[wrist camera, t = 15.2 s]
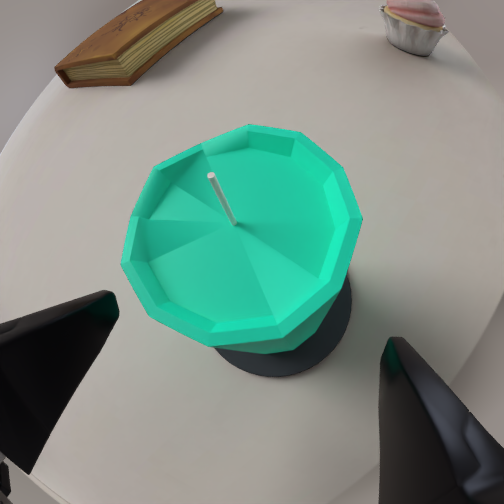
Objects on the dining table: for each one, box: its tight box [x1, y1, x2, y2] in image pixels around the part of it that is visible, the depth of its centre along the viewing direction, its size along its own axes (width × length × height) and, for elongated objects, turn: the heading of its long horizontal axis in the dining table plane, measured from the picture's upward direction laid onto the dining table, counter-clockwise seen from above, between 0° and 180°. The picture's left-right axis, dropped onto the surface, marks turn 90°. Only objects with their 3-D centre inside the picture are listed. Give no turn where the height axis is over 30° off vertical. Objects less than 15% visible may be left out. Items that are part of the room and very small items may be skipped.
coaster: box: [214, 274, 352, 377], centre depth 16 cm, size 9×9×1 cm
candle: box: [121, 124, 363, 354], centre depth 11 cm, size 6×6×12 cm
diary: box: [55, 0, 223, 88], centre depth 32 cm, size 23×19×6 cm
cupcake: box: [379, 0, 448, 56], centre depth 20 cm, size 9×9×10 cm
